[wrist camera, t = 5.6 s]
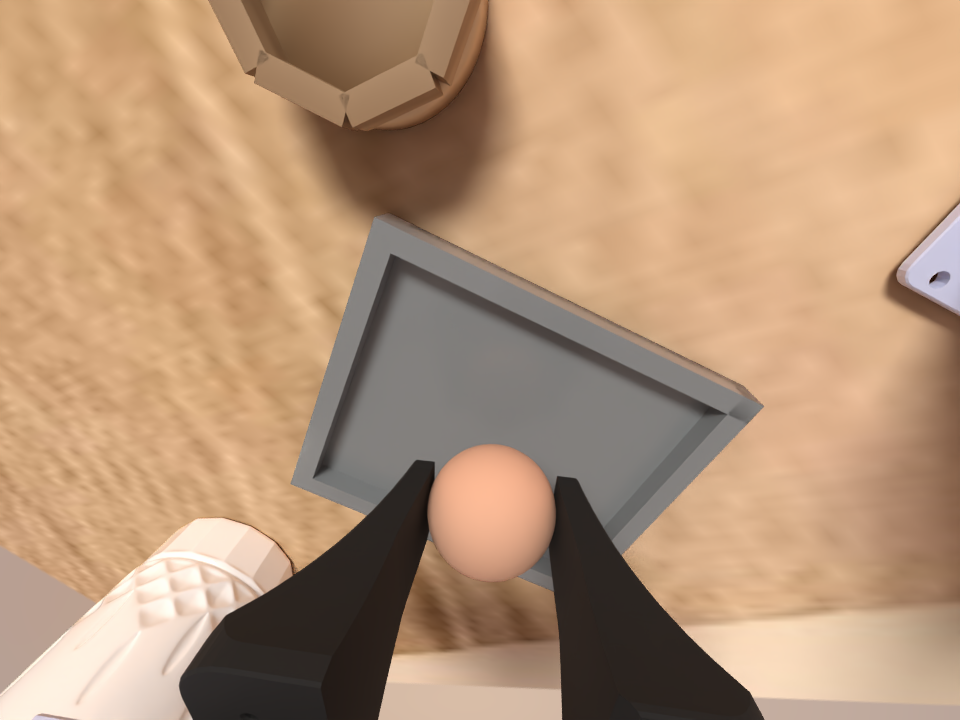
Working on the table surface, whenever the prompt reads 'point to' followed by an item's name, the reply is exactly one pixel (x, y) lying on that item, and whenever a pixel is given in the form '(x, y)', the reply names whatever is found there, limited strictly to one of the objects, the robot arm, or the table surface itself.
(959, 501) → the table surface
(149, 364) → the table surface
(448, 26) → the egg cup
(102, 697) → the white cup
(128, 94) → the table surface
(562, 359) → the tray
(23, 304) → the table surface
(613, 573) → the robot arm
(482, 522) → the ball
